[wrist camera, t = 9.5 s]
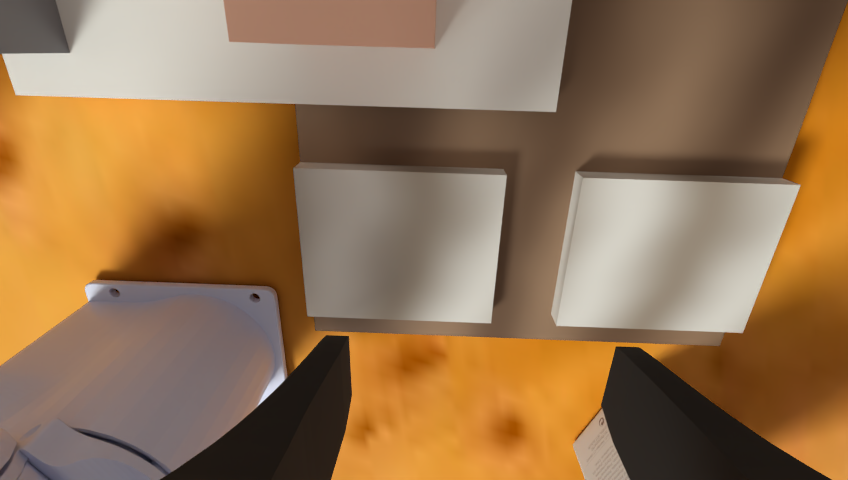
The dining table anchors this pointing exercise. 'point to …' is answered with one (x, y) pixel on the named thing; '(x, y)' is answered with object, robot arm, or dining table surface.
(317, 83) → the white tray
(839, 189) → the dining table surface
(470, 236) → the board
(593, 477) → the small box
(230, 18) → the block
